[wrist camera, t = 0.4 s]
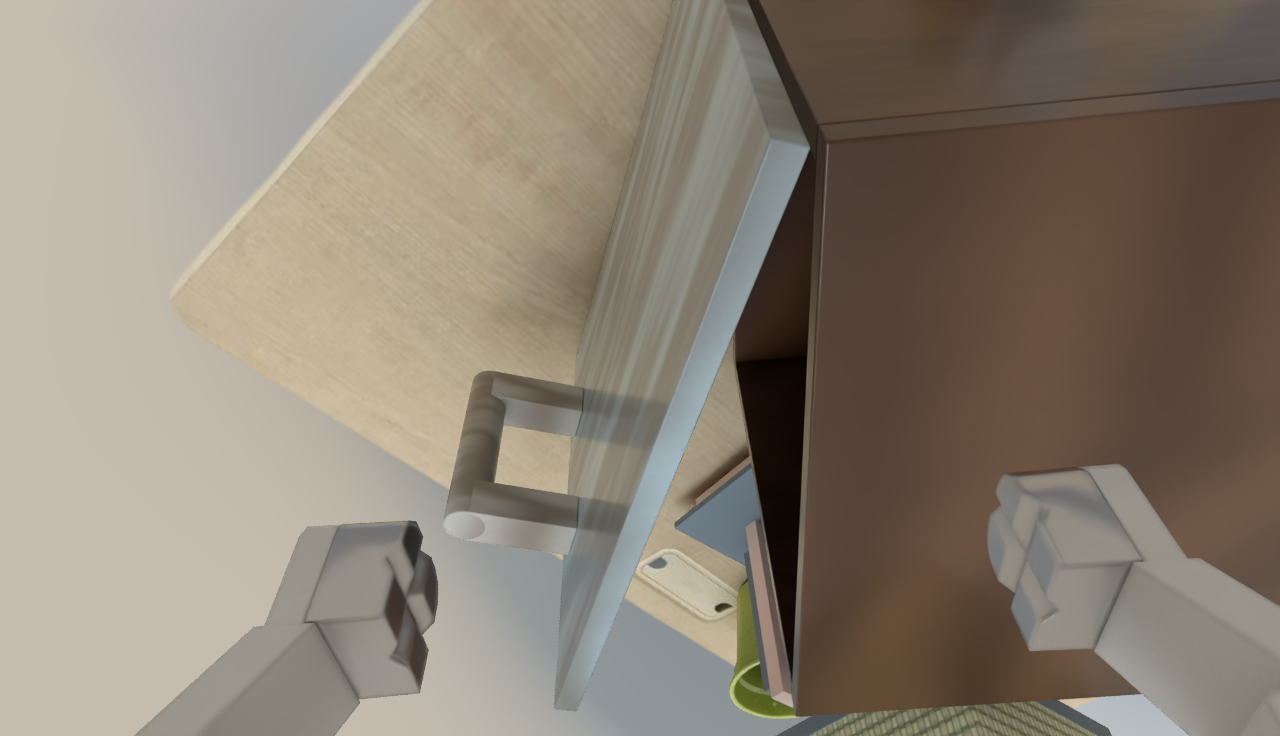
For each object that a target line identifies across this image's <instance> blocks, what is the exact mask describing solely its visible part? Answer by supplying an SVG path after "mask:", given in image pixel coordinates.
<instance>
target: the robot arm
mask: <svg viewBox="0 0 1280 736" xmlns="http://www.w3.org/2000/svg"><path fill="white" fill-rule="evenodd" d="M996 495H997V497H998V499H999V501H1000V503H1001V506H999V507H998V508H997V509H996V510H995V511H994V512H992V513H991V514H990V517H989V521H988V526H987V547H988V553H989V557H990V561H991V564H992V567H993V569H994V572H995V574H996V577H997V579H998V581H999V582H1000V583H1002V584H1003V585H1004V586H1006V587H1007V588H1009V589H1010V590H1011V591H1013V592H1014V593H1015V595H1014V598H1013V601H1012V605H1011V608H1010V609H1011V611H1012V613H1013V616H1014V618H1015V620H1016V622H1017V625H1018V627H1019V629H1020V631H1021V634H1022V636H1023V638H1024V640H1025V643H1026V645H1027V647H1028V649H1029V651H1046V650H1069V649H1092V648H1095V650H1094V652H1095V653H1096V654H1097V655H1098V656H1100V657H1101V658H1102V659H1103V660H1104V661H1105V662H1106V663H1107V664H1109V665H1110V666H1111V667H1112V668H1113V669H1114V670H1115V671H1117V672H1118V673H1119V674H1120V675H1121V676H1122V677H1123V678H1124V679H1126V680H1127V681H1128V682H1129V683H1130V684H1131V685H1132V686H1134V687H1135V688H1136V689H1137V690H1138V691H1139V692H1140V693H1141V694H1143V695H1144V696H1145V697H1146V698H1147V699H1148V700H1150V701H1151V702H1152V703H1153V704H1154V705H1155V706H1156V707H1157V708H1158V709H1160V710H1161V711H1162V712H1163V713H1164V714H1165V715H1166V716H1168V717H1169V718H1170V719H1171V720H1172V721H1173V722H1174V723H1175V724H1177V725H1178V726H1179V727H1180V728H1181V729H1182V730H1183V731H1185V732H1186V733H1187V734H1188V735H1189V736H1280V606H1279V605H1277V604H1275V603H1274V602H1272V601H1270V600H1269V599H1267V598H1265V597H1264V596H1262V595H1260V594H1259V593H1257V592H1255V591H1254V590H1252V589H1250V588H1249V587H1247V586H1245V585H1244V584H1242V583H1240V582H1239V581H1237V580H1235V579H1234V578H1232V577H1230V576H1229V575H1227V574H1225V573H1224V572H1222V571H1220V570H1219V569H1217V568H1215V567H1214V566H1212V565H1210V564H1209V563H1207V562H1205V561H1204V560H1202V559H1201V558H1187V557H1186V555H1185V554H1184V552H1183V551H1182V549H1181V548H1180V546H1179V545H1178V543H1177V542H1176V540H1175V539H1174V538H1173V536H1172V535H1171V533H1170V532H1169V530H1168V529H1167V527H1166V526H1165V524H1164V523H1163V522H1162V520H1161V519H1160V517H1159V516H1158V514H1157V513H1156V511H1155V510H1154V508H1153V507H1152V505H1151V504H1150V503H1149V501H1148V500H1147V498H1146V497H1145V495H1144V494H1143V492H1142V491H1141V489H1140V488H1139V486H1138V485H1137V484H1136V482H1135V481H1134V479H1133V478H1132V476H1131V475H1130V473H1129V472H1128V470H1127V469H1126V468H1124V467H1123V466H1121V465H1120V464H1109V465H1097V466H1085V467H1079V468H1077V467H1069V468H1058V469H1046V470H1035V471H1024V472H1013V473H1004V475H1003V476H1002V477H1001V478H1000V479H999V482H998V485H997V489H996ZM422 539H423V536H422V533H421V531H420V529H419V527H418V524H417V522H416V521H395V522H378V523H377V522H376V523H357V524H342V525H328V526H312V527H307V528H306V529H305V531H304V532H303V533H302V534H301V535H300V536H299V538H298V541H297V544H296V546H295V549H294V551H293V554H292V556H291V559H290V562H289V564H288V566H287V569H286V571H285V574H284V577H283V579H282V582H281V585H280V587H279V589H278V592H277V594H276V597H275V600H274V602H273V605H272V608H271V610H270V612H269V615H268V617H267V620H266V622H265V625H264V626H261V627H253V628H252V629H251V630H250V631H249V632H248V633H247V634H246V635H244V636H243V637H242V638H241V639H240V640H239V641H238V642H237V643H236V644H235V645H233V646H232V647H231V648H230V649H229V650H228V651H227V652H226V653H225V654H224V655H222V656H221V657H220V658H219V659H218V660H217V661H216V662H215V663H214V664H212V665H211V666H210V667H209V668H208V669H207V670H206V671H205V672H204V673H203V674H201V675H200V676H199V677H198V678H197V679H196V680H195V681H194V682H193V683H192V684H190V685H189V686H188V687H187V688H186V689H185V690H184V691H183V692H182V693H180V694H179V695H178V696H177V697H176V698H175V699H174V700H173V701H172V702H171V703H169V705H167V706H166V707H165V708H164V709H163V710H162V711H161V712H160V713H158V714H157V715H156V716H155V717H154V718H153V719H152V720H151V721H150V722H149V723H147V724H146V725H145V726H144V727H143V728H142V729H141V730H140V731H139V732H138V733H137V734H136V735H134V736H335V734H336V733H337V732H338V730H339V729H340V728H341V727H342V725H343V724H344V723H345V721H346V720H347V719H348V718H349V716H350V715H351V714H352V712H353V711H354V710H355V709H356V707H357V706H358V705H359V703H360V701H359V699H366V698H377V697H387V696H397V695H408V694H418V693H420V689H421V684H422V679H423V675H424V670H425V665H426V660H427V655H428V651H429V650H428V648H427V645H426V643H425V641H424V638H423V636H422V635H423V634H424V632H426V630H427V629H428V628H429V627H430V626H431V625H432V624H433V623H434V621H435V616H436V610H437V605H438V604H437V603H438V581H437V576H436V570H435V566H434V564H433V561H432V558H431V557H430V556H429V555H427V554H425V553H424V552H422V551H421V550H420V548H421V544H422Z"/></svg>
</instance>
